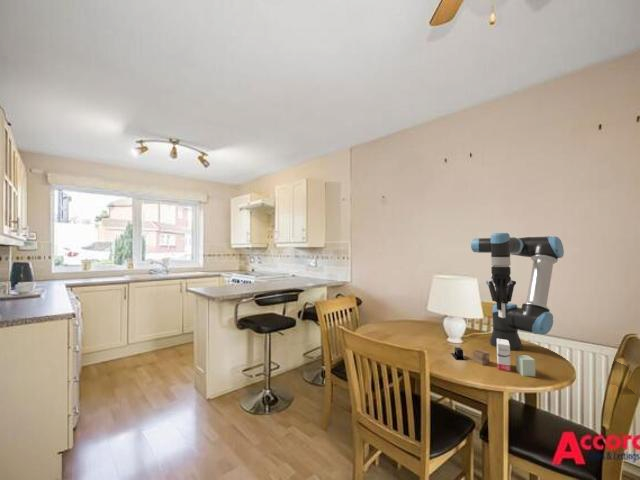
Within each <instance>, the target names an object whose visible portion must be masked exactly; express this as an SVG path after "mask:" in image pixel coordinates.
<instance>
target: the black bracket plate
mask: <svg viewBox="0 0 640 480" xmlns="http://www.w3.org/2000/svg"><path fill="white" fill-rule="evenodd" d="M450 354H451V356H452V357H453V358H454V359H455V360H456V361H466V362H467V361H468V359H467V358H466V357H465V356H464V349H463V348H462V347H456V346H455V347H454V352H450Z"/></svg>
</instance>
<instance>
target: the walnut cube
mask: <svg viewBox="0 0 640 480" xmlns="http://www.w3.org/2000/svg"><path fill="white" fill-rule="evenodd" d="M472 361H474V362H473V363H475V364H478V365H481V366H485V365H488V364H490V361H491V360H490V352H488V351H485V350H482V349H476V350H472Z"/></svg>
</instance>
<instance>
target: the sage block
mask: <svg viewBox="0 0 640 480" xmlns="http://www.w3.org/2000/svg"><path fill="white" fill-rule="evenodd" d="M515 358H516V359H515V366H516V367H515V369H516V372H517V373H519V374H520V375H521V376H522V377H536V360H535V359H534V358H533V357H531V356H529V355H522V354H519V355H518V354H516V355H515Z"/></svg>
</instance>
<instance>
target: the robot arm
mask: <svg viewBox="0 0 640 480" xmlns="http://www.w3.org/2000/svg"><path fill="white" fill-rule="evenodd" d="M470 249H471V251H472V252H473V253H477V254H479V253H481V254H483V253H484V254H485V253H489V254H490V257H491V258H490V261H491V262H490V263H491V275H492V276H491V278H490V280H487V281H486V284H487V286H488V289H489V294H490V297H491V300H492V302H495V303H496V304H494V305H493V306H492V311H491V312H492V331H491V335H490V338H489V345H491V346H493V347H495V348H497V339H504V340H508V341H509V344H510V351H517V350H522V348H523V343H522V340H521V338H520V336H519V332H518V331H522V332H528V333H532V334H535V335H547V334H548V333H549V332H550V331H552V328H553V326H554V315H553V314H552V312H550V311H551V310H550V309H549V307H548V306H547V305H548V299H549V292H550V286H551V280H552V275H553V269H554V268H553V267H554V265H555V264H556V263H558V261H559V260H558V259H561V258H563V257H564V255H565V252H564V245H563V242H562V240H561V239H560V237H558V236H526V237H524V236H523V237H519V238H518V237H515V236H514V237H513V236H512V237H511V236H510V234H509V233H508V232H494V233H493V232H492V233H491V235H490V237H489V238H488V237H487V238H486V237H481V238H480V237H479V238H473V239H472V240H471V242H470ZM511 256H519V257H524V258H525V257H526V258H530V259H531V260H532V261H533V263H532V270H531V274H530V279H529V284H528V285H529V286H528V289H527V290H528V292H527V296H526V301H525V302H523V303H522V305H521V307H519V306H518V304H516V303H511V301H512V298H513V293H514V289H515V288H514V287H515V286H516V284H517V281H515V280H513V279H512V278H511V267H510V266H511Z"/></svg>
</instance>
